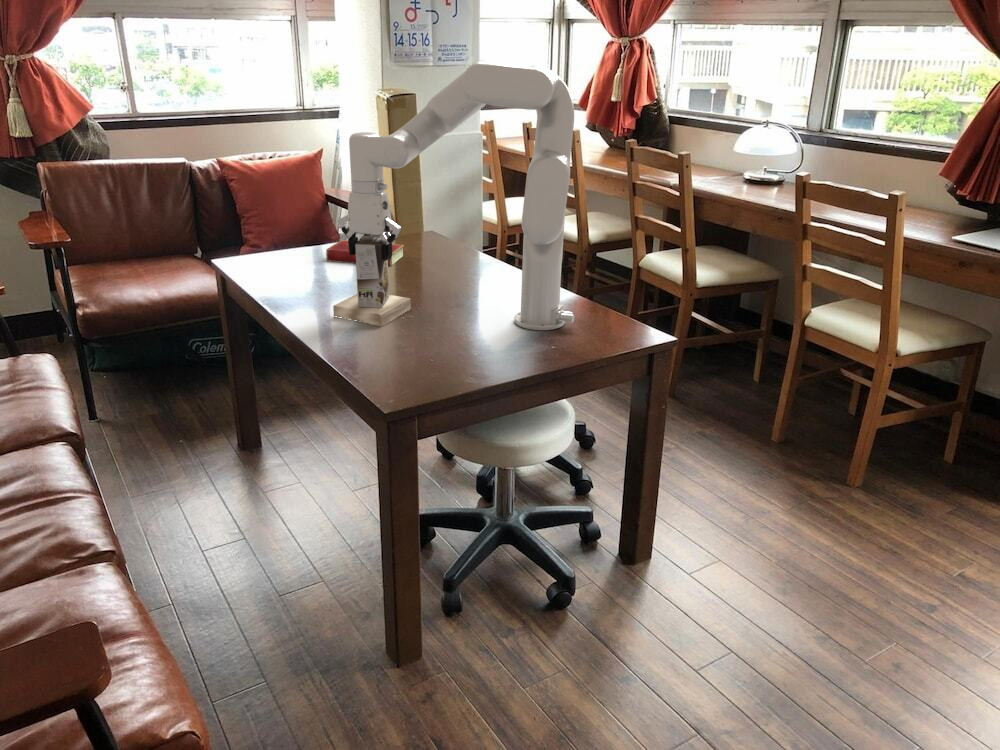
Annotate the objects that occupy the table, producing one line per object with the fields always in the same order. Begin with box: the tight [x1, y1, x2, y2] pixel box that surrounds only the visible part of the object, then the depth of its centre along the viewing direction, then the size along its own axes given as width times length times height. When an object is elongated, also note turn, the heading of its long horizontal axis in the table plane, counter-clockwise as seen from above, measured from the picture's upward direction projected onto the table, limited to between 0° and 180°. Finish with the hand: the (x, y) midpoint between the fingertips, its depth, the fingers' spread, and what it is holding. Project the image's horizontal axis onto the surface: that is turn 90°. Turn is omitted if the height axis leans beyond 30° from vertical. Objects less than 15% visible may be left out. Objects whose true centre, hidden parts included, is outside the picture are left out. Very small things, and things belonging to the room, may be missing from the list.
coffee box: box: [355, 235, 390, 308], centre depth 202 cm, size 9×6×16 cm
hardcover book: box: [325, 239, 405, 267], centre depth 252 cm, size 12×21×4 cm, turn 77°
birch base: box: [332, 293, 412, 327], centre depth 206 cm, size 14×14×3 cm
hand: (370, 256), depth 200 cm, fingers open, 9 cm apart
